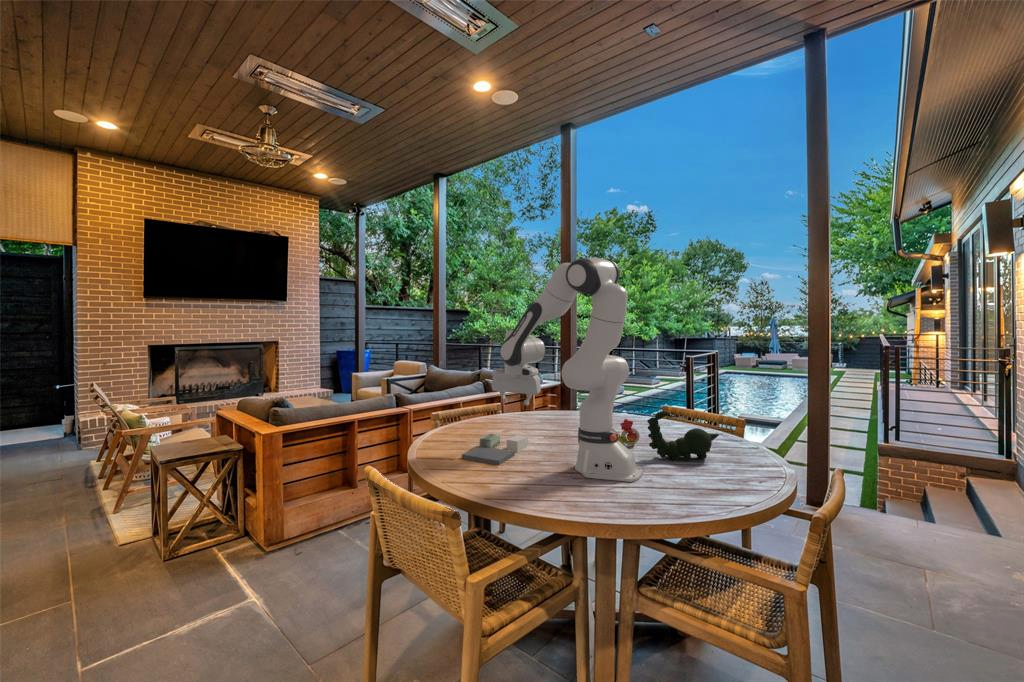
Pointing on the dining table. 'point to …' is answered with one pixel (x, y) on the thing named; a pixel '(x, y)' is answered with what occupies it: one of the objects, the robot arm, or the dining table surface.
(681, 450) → the toy figurine
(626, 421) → the bird rattle
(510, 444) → the cream brick
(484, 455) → the base plate
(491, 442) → the sage brick
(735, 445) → the dining table surface
